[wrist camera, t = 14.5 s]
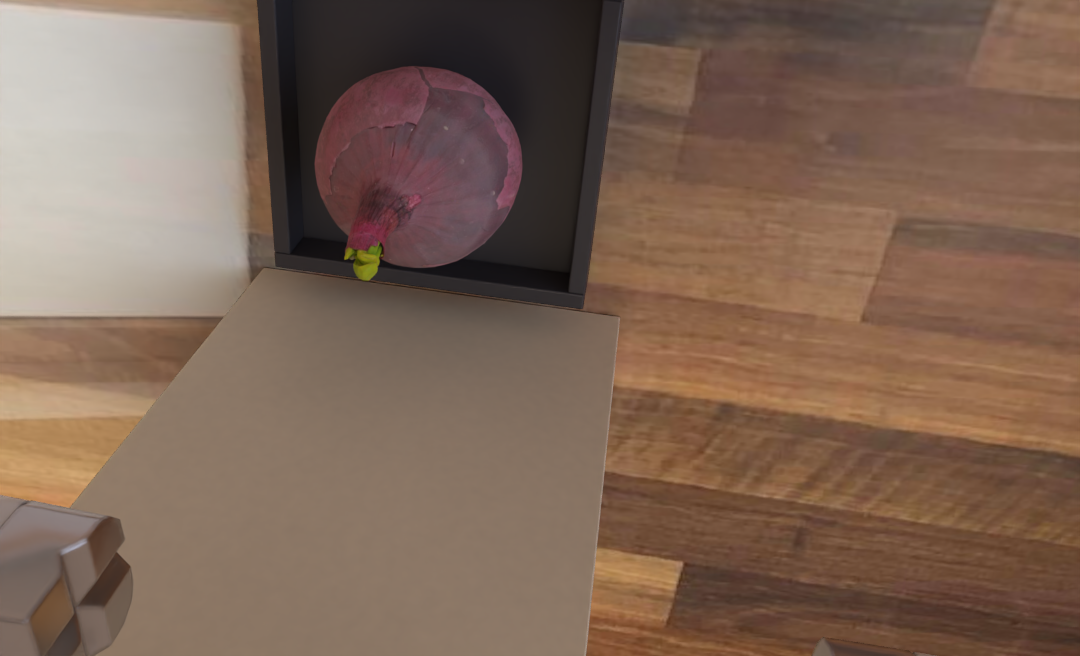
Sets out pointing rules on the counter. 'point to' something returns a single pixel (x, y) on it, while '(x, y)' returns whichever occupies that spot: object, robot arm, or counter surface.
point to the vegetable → (416, 168)
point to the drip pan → (497, 66)
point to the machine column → (368, 478)
